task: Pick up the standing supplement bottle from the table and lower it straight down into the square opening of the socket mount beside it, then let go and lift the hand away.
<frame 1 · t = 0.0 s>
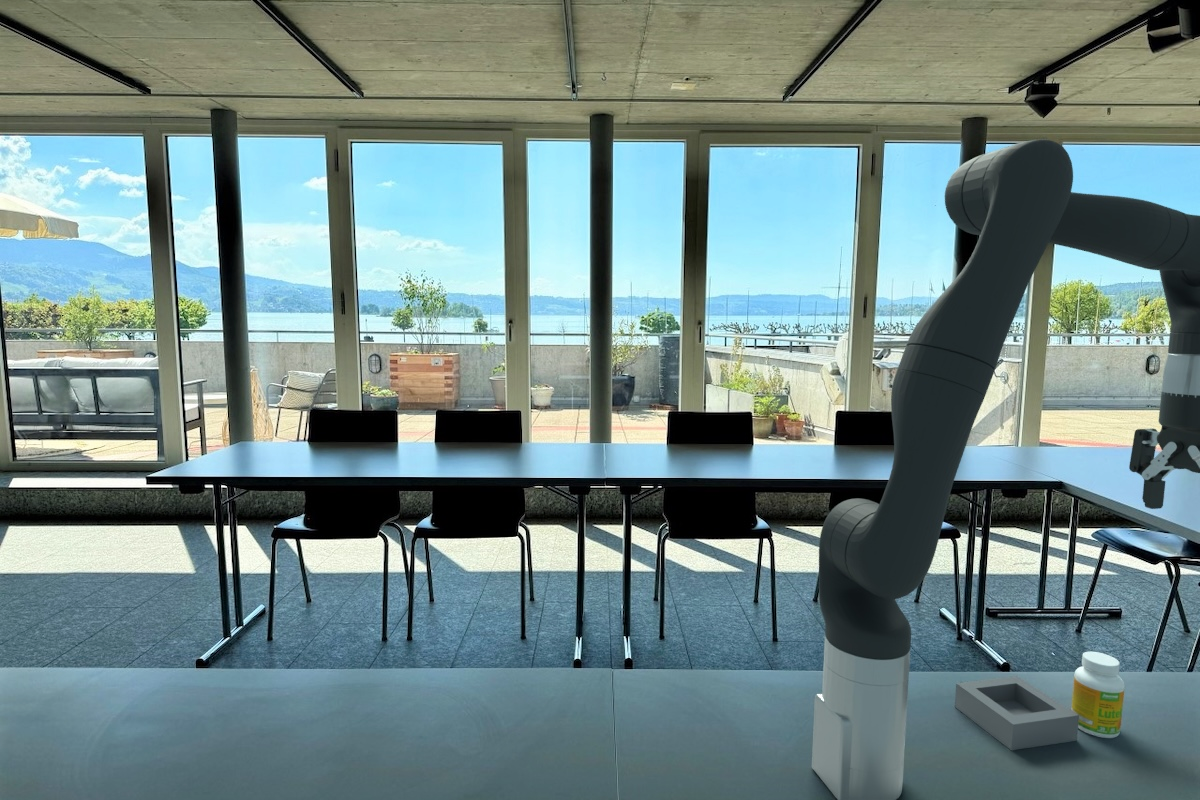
hand: (1187, 517, 86), 29 cm above the table, tool pointing down, fingers open, 8 cm apart
supplement bottle: (1094, 728, 91), on the table
socket mount: (1013, 722, 92), on the table
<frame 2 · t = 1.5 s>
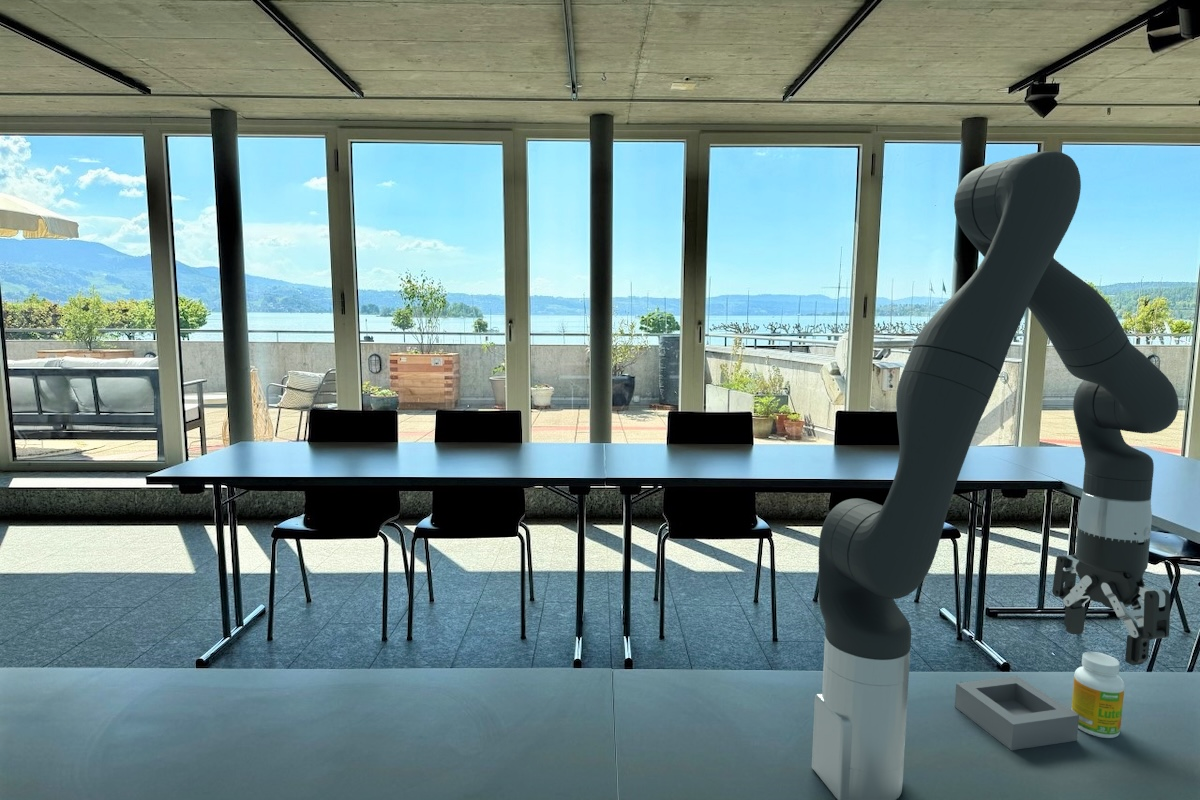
hand: (1103, 647, 90), 11 cm above the table, tool pointing down, fingers open, 8 cm apart
nothing on the table moved.
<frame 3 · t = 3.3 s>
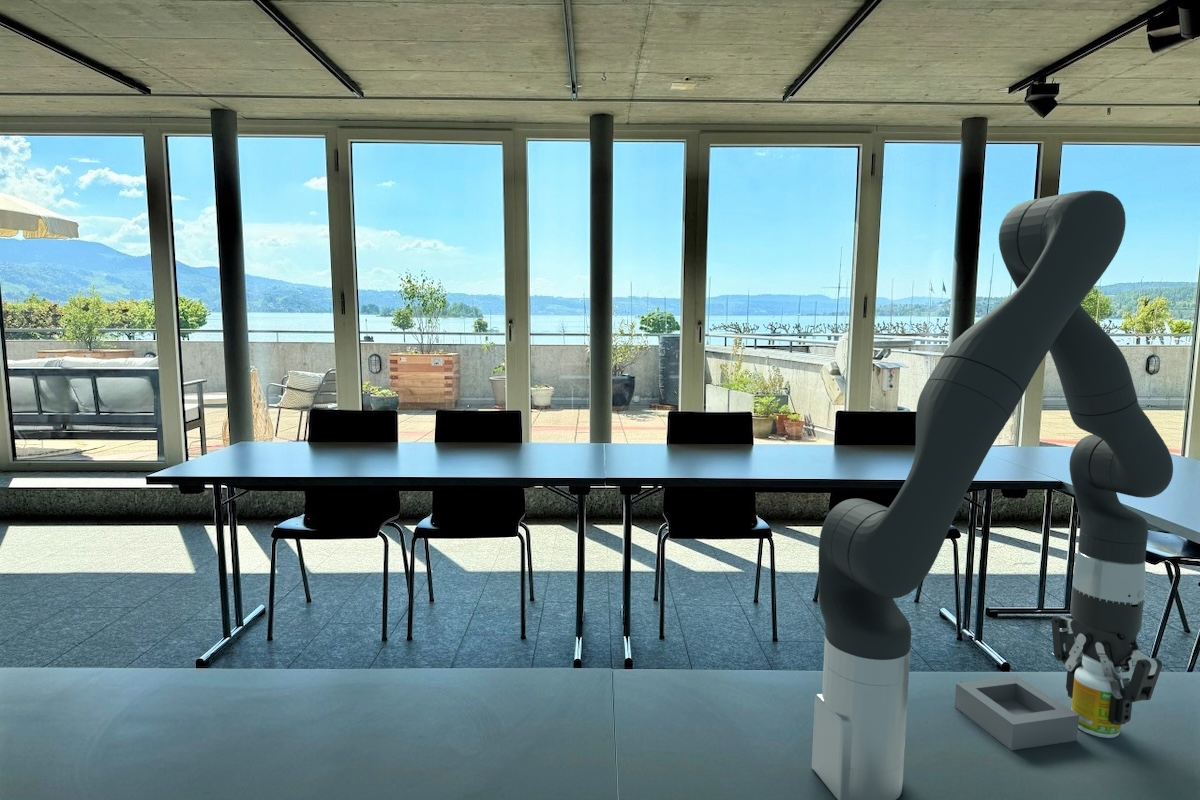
hand: (1096, 709, 91), 2 cm above the table, tool pointing down, fingers closed on supplement bottle, 5 cm apart
supplement bottle: (1094, 728, 91), on the table, touching gripper
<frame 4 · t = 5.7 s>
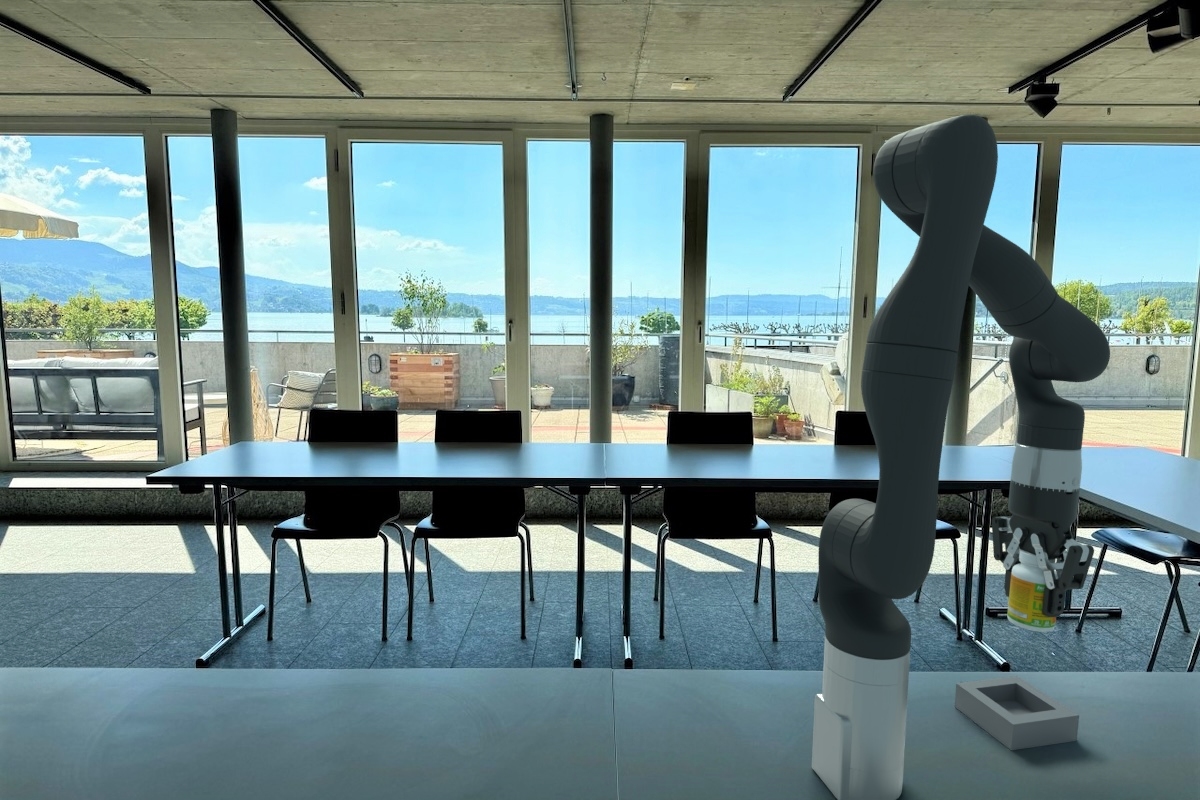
hand: (1032, 605, 89), 17 cm above the table, tool pointing down, fingers closed on supplement bottle, 5 cm apart
supplement bottle: (1030, 625, 90), point 14 cm above the table, touching gripper
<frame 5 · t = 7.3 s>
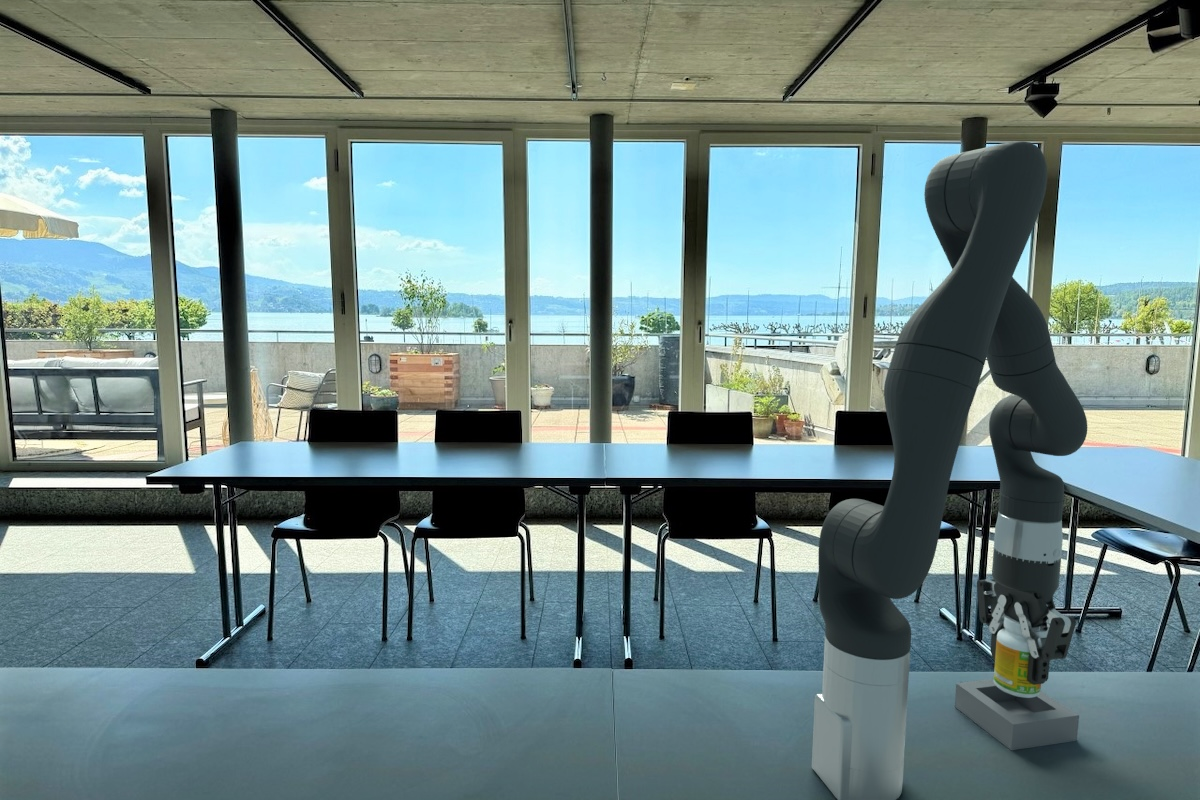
hand: (1017, 670, 91), 7 cm above the table, tool pointing down, fingers closed on supplement bottle, 5 cm apart
supplement bottle: (1016, 689, 91), point 5 cm above the table, touching gripper
when the fingers open (5 cm above the table, at t = 8.6 s): supplement bottle drops 1 cm, resting on socket mount.
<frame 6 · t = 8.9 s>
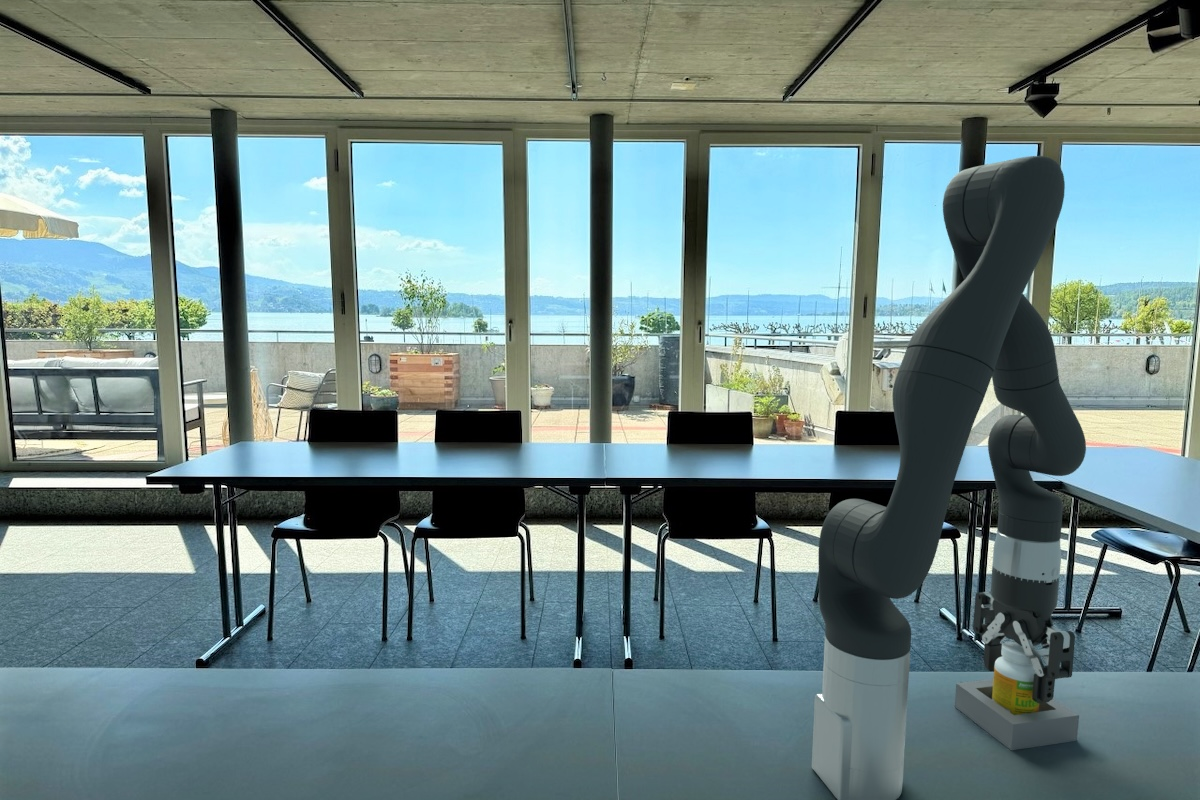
hand: (1016, 684, 91), 5 cm above the table, tool pointing down, fingers open, 7 cm apart
supplement bottle: (1013, 717, 92), point 1 cm above the table, touching socket mount
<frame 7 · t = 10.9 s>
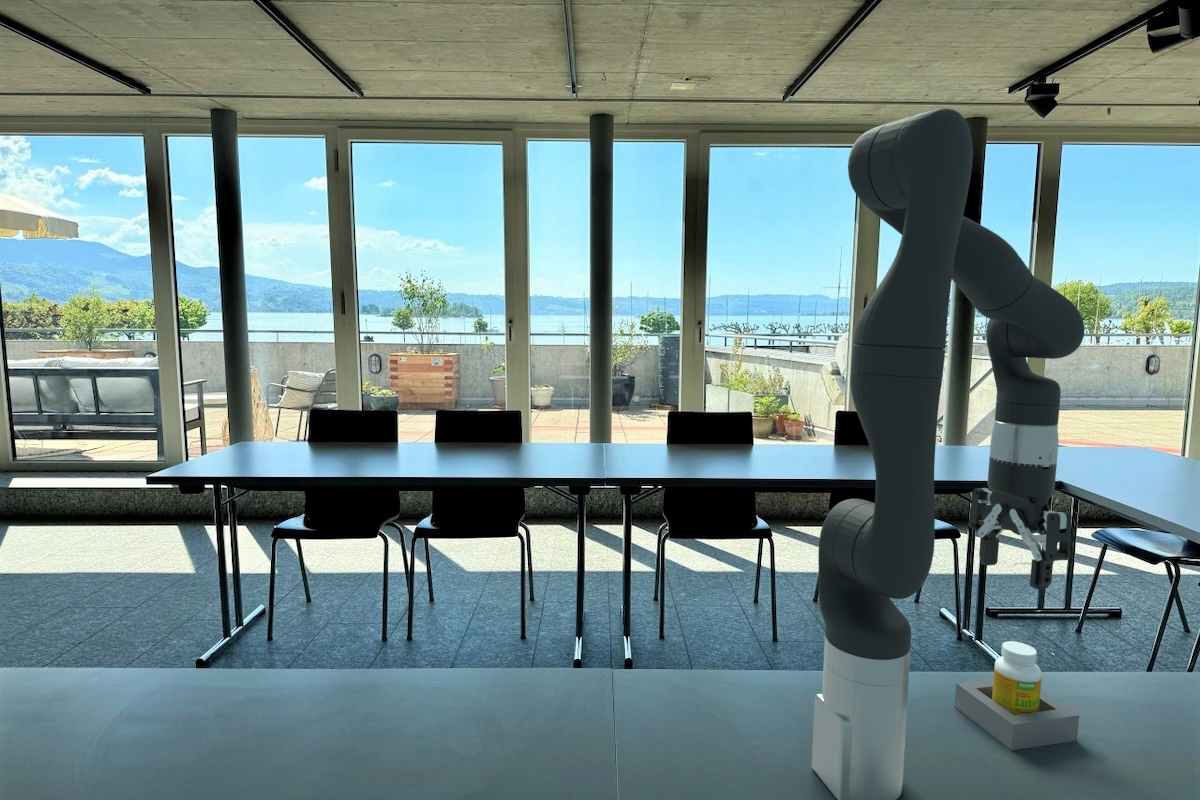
hand: (1012, 575, 91), 20 cm above the table, tool pointing down, fingers open, 8 cm apart
nothing on the table moved.
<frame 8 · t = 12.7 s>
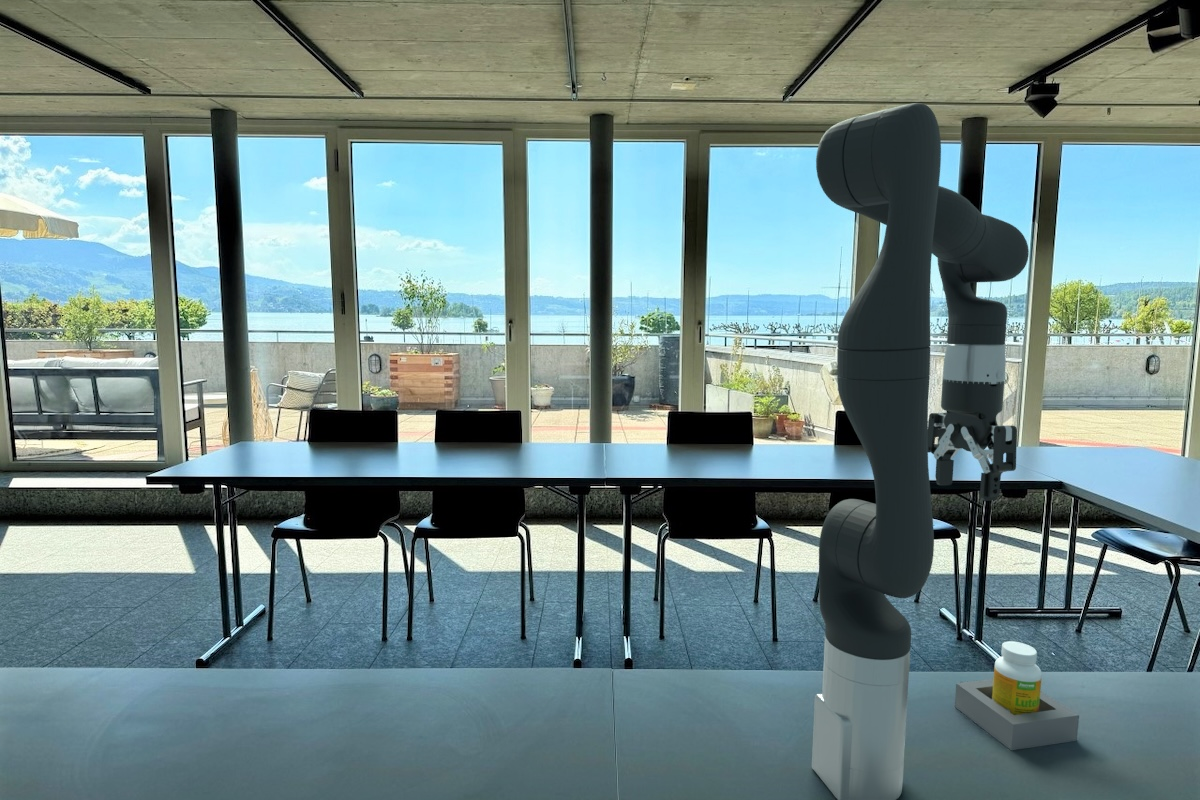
hand: (965, 492, 95), 30 cm above the table, tool pointing down, fingers open, 8 cm apart
nothing on the table moved.
at the end: supplement bottle 0.1 cm off-centre on the socket mount, point 0.8 cm above the socket mount's base; supplement bottle tilted 0°; the gripper is holding nothing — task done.
